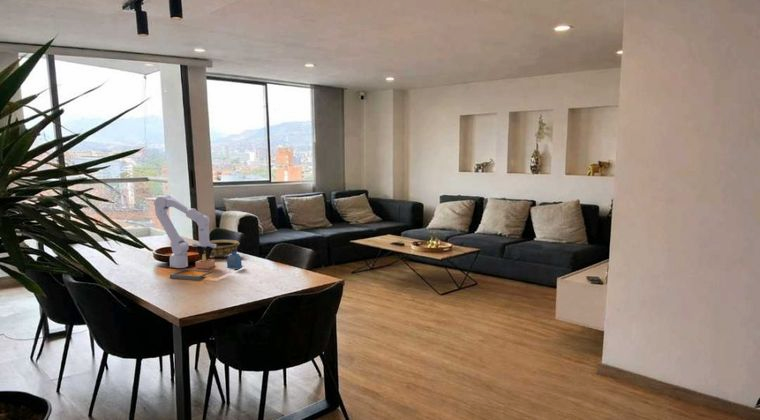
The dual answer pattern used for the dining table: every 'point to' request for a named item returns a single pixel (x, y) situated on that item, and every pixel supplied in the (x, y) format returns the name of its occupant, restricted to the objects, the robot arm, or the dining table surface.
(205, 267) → the peach hollow square block
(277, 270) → the dining table surface
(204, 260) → the dowel
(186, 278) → the tray
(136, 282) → the dining table surface
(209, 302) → the dining table surface
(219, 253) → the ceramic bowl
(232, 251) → the perfume bottle
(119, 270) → the dining table surface
